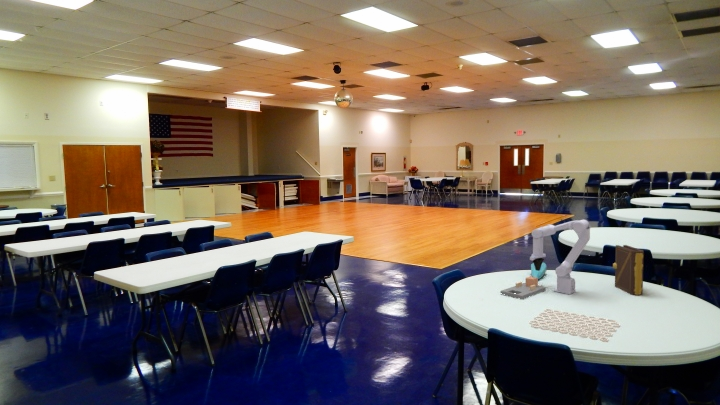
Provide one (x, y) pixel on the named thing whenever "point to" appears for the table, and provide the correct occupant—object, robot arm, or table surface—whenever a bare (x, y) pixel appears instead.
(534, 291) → the plate
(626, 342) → the table surface
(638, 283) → the book
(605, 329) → the honeycomb grid
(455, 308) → the table surface
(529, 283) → the block
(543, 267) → the crystal
